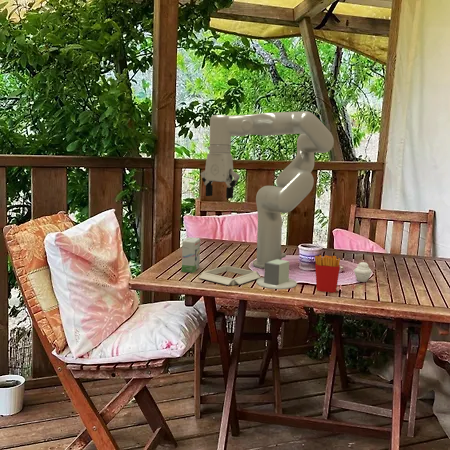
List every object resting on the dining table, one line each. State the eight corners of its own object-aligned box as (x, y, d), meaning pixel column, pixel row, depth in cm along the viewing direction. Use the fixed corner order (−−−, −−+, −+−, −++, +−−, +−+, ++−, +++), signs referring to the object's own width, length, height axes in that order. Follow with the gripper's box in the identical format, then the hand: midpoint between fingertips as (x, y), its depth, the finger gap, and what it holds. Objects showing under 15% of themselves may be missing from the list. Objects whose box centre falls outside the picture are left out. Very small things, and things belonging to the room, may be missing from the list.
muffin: (359, 283, 187) (360, 264, 186) (350, 279, 193) (351, 260, 192) (374, 282, 189) (375, 263, 188) (365, 278, 195) (366, 259, 194)
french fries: (339, 290, 179) (341, 255, 177) (338, 293, 175) (340, 257, 173) (313, 287, 181) (315, 253, 179) (312, 290, 178) (313, 255, 176)
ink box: (187, 266, 207) (187, 236, 205) (200, 267, 206) (200, 237, 204) (181, 272, 199) (181, 241, 197) (194, 272, 198) (194, 241, 196)
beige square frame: (225, 268, 205) (225, 263, 205) (265, 277, 194) (265, 271, 193) (193, 277, 191) (193, 272, 191) (234, 287, 179) (234, 281, 179)
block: (276, 278, 190) (277, 259, 189) (288, 280, 187) (289, 261, 186) (264, 282, 184) (264, 262, 183) (276, 285, 181) (276, 265, 180)
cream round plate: (271, 276, 195) (271, 274, 195) (304, 283, 187) (304, 281, 187) (248, 283, 185) (248, 282, 184) (282, 291, 176) (282, 289, 176)
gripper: (195, 149, 194) (194, 195, 197) (232, 150, 184) (231, 200, 187) (208, 149, 200) (207, 194, 203) (245, 150, 190) (244, 198, 192)
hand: (219, 197), depth 195 cm, fingers open, 9 cm apart
